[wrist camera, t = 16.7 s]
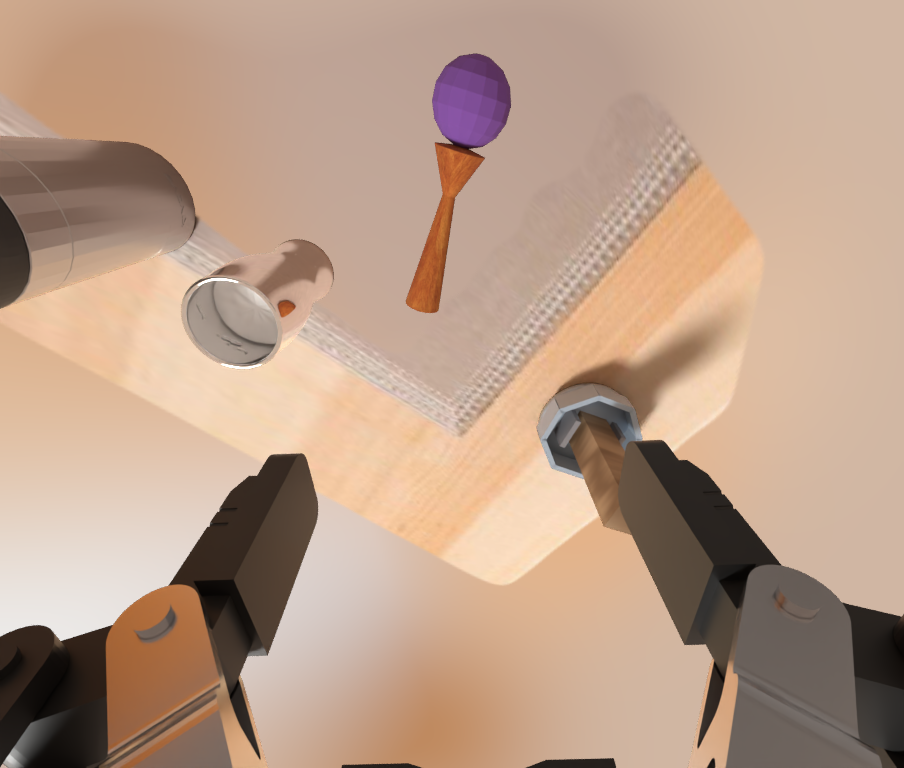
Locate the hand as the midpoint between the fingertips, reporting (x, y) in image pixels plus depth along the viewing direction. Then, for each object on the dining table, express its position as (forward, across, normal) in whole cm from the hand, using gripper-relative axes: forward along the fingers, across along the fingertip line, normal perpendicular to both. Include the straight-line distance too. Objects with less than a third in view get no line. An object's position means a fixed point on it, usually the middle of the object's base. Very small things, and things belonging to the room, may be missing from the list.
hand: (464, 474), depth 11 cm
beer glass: (+33, +15, +2) cm, 37 cm away
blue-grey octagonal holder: (+33, -14, +21) cm, 42 cm away
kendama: (+34, 0, -4) cm, 34 cm away
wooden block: (+32, -14, +21) cm, 41 cm away
